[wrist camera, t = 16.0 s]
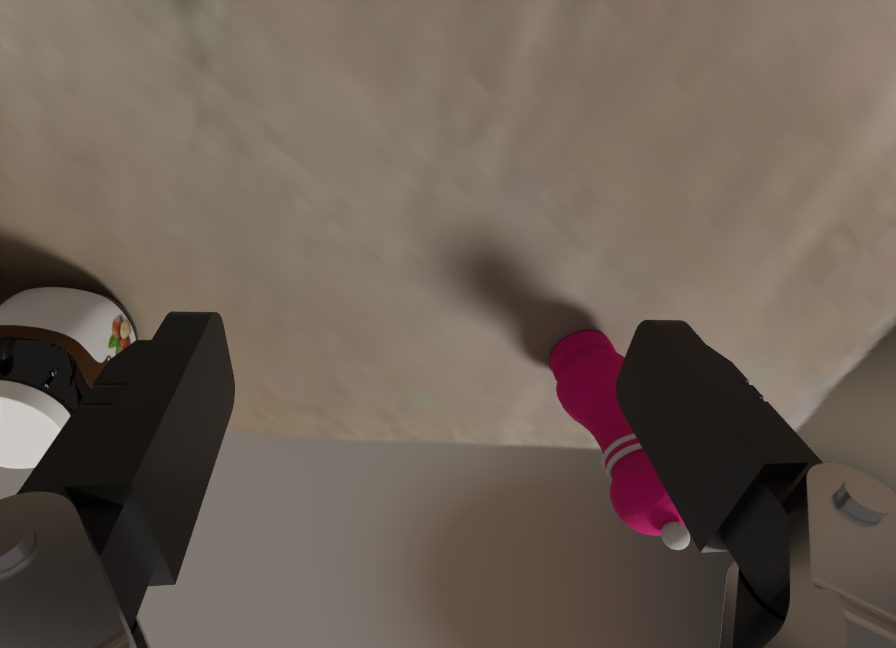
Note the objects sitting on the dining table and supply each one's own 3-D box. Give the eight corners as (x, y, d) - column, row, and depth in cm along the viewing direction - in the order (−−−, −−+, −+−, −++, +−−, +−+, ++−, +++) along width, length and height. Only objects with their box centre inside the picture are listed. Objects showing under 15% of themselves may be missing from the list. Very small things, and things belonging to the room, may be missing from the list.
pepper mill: (579, 392, 51) (671, 584, 35) (529, 364, 48) (605, 562, 32) (630, 345, 48) (757, 533, 32) (581, 313, 45) (694, 503, 29)
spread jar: (152, 373, 44) (90, 484, 34) (6, 368, 41) (-102, 484, 32) (122, 253, 37) (35, 350, 27) (-54, 240, 35) (-213, 340, 25)
